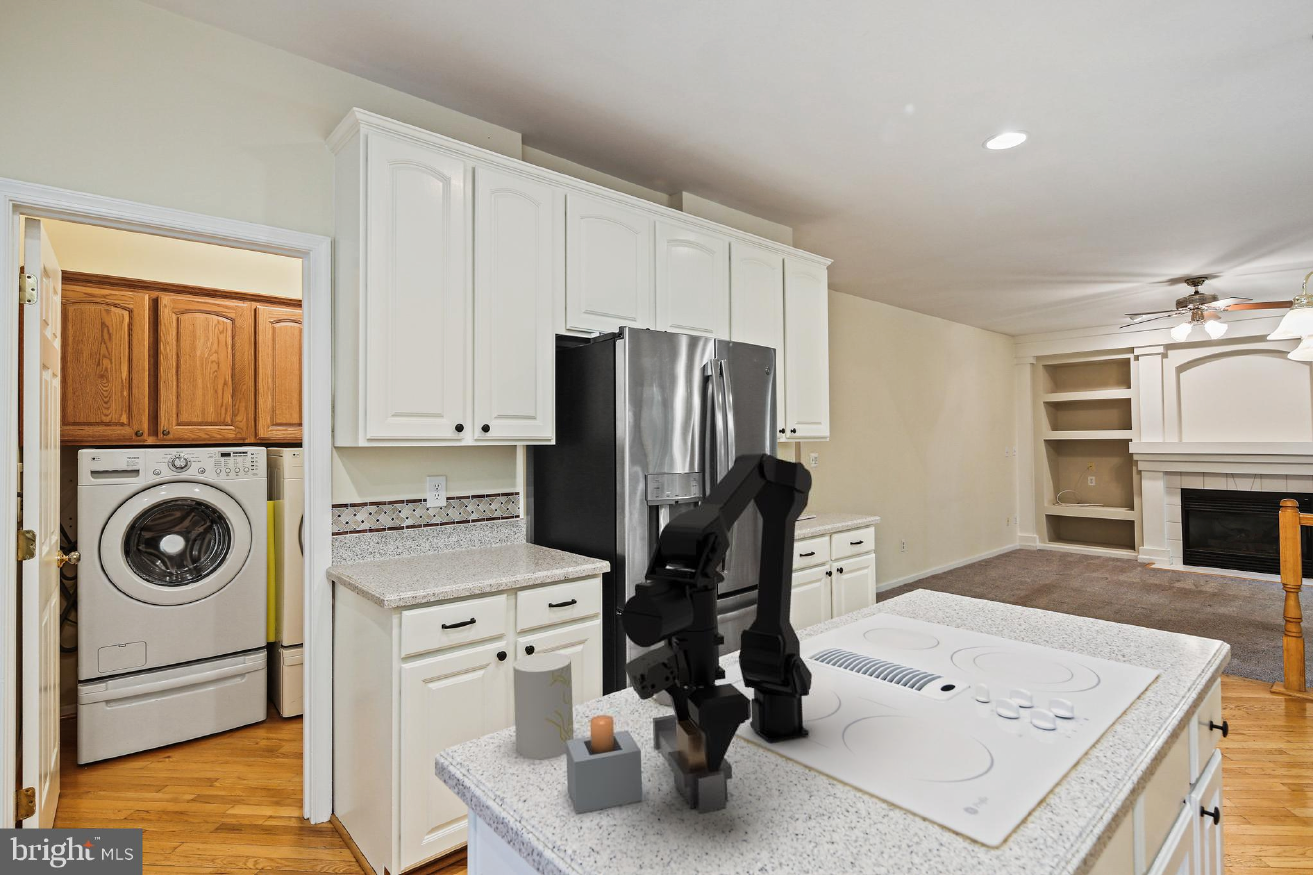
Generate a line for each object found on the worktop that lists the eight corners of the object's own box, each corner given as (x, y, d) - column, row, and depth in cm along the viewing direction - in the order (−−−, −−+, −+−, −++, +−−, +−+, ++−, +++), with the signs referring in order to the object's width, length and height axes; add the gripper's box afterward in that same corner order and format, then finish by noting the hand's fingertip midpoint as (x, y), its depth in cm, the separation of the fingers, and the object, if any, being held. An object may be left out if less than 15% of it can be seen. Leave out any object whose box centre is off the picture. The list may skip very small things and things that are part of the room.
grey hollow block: (629, 776, 85) (627, 730, 85) (642, 800, 79) (640, 750, 79) (567, 788, 82) (565, 740, 83) (576, 813, 77) (574, 762, 77)
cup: (562, 761, 90) (559, 672, 90) (506, 757, 91) (503, 670, 92) (581, 734, 98) (578, 653, 98) (529, 731, 99) (526, 652, 99)
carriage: (713, 775, 84) (711, 712, 84) (732, 798, 78) (730, 731, 78) (668, 783, 82) (666, 720, 82) (685, 808, 77) (682, 740, 77)
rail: (675, 742, 94) (674, 714, 94) (725, 808, 77) (724, 773, 77) (653, 746, 93) (652, 718, 93) (699, 813, 76) (698, 778, 76)
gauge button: (611, 742, 83) (610, 713, 83) (616, 752, 80) (615, 722, 80) (589, 746, 82) (588, 717, 82) (593, 756, 79) (592, 726, 79)
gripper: (611, 614, 87) (615, 733, 87) (653, 656, 69) (658, 806, 69) (691, 605, 90) (695, 719, 90) (750, 643, 72) (755, 786, 72)
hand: (698, 753), depth 80 cm, fingers open, 9 cm apart
